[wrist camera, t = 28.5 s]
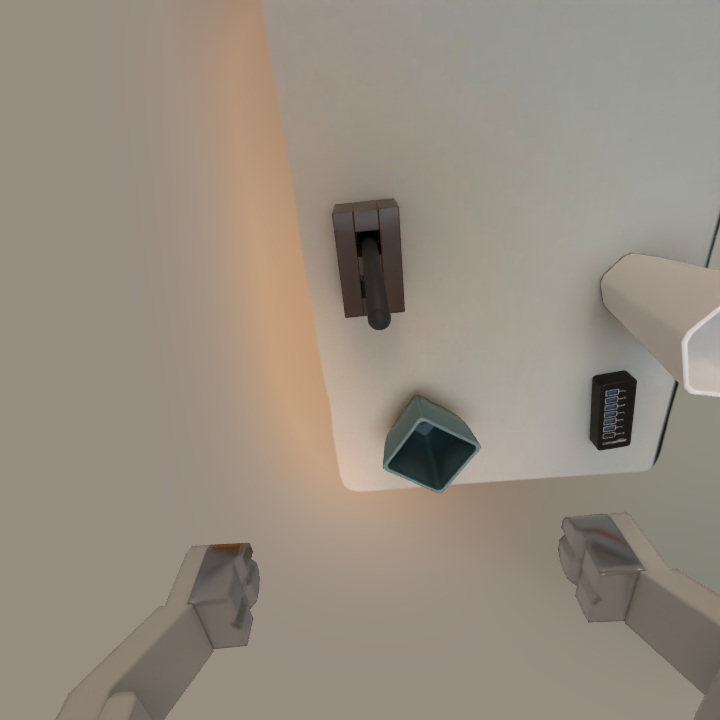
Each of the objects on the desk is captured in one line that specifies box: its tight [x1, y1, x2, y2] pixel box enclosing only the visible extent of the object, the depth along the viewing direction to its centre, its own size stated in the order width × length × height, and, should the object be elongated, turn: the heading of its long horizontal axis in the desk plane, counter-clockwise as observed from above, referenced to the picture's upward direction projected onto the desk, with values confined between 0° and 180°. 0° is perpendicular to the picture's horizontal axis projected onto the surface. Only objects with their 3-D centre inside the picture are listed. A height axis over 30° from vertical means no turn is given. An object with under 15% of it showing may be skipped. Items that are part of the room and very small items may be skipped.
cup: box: [600, 253, 720, 397], centre depth 43 cm, size 11×10×17 cm
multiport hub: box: [590, 371, 637, 450], centre depth 58 cm, size 4×11×2 cm, turn 12°
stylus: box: [360, 230, 391, 330], centre depth 38 cm, size 2×2×22 cm
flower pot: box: [383, 396, 481, 493], centre depth 55 cm, size 9×9×9 cm
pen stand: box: [332, 198, 405, 318], centre depth 46 cm, size 6×11×6 cm, turn 6°
